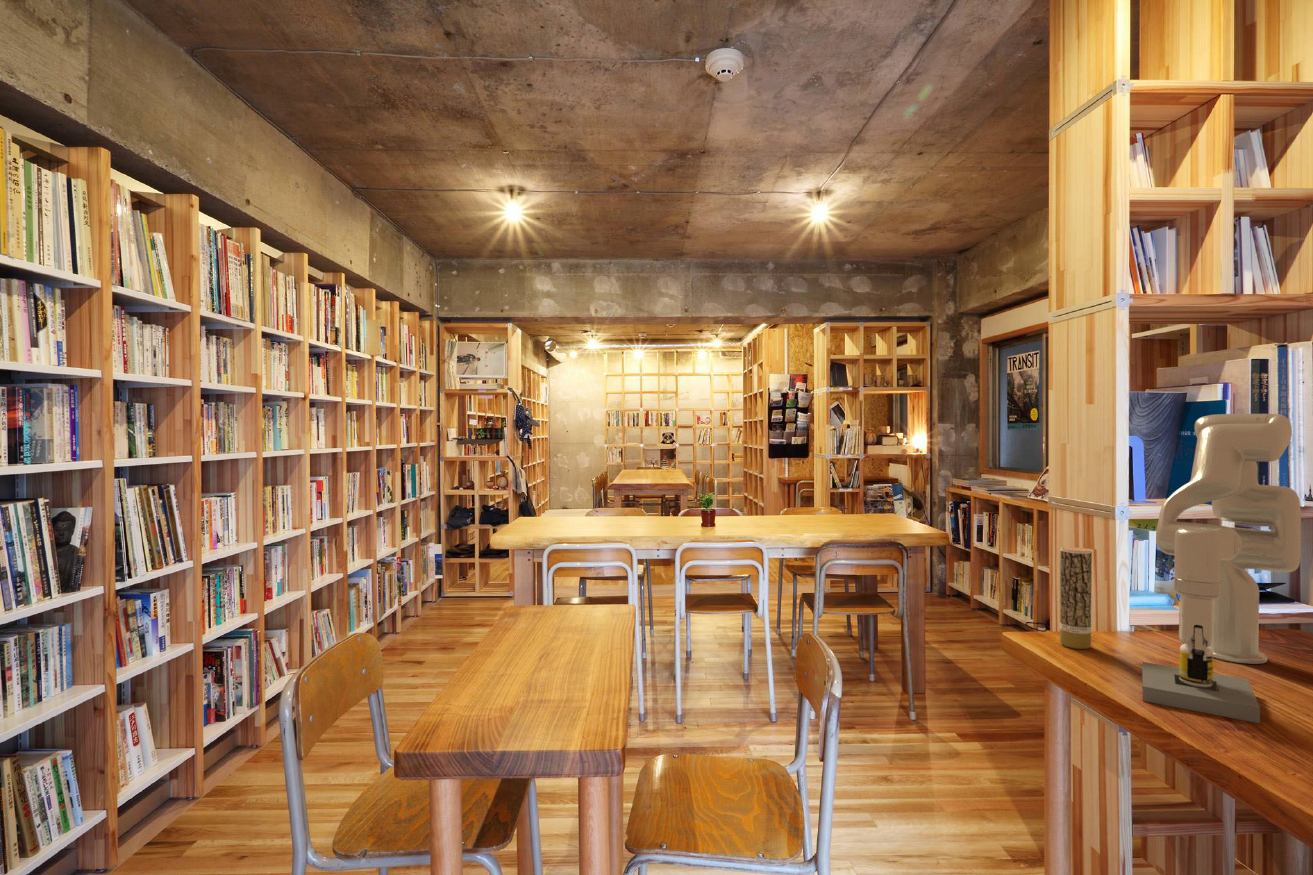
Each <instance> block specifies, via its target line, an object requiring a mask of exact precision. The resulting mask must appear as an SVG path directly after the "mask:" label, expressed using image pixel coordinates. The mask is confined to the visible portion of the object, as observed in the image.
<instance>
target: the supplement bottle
mask: <svg viewBox="0 0 1313 875" xmlns="http://www.w3.org/2000/svg"><path fill="white" fill-rule="evenodd" d="M1191 643H1192V644H1195V641H1192V640H1191ZM1203 645H1204V642H1203ZM1206 647H1207V646H1206ZM1193 648H1194V649H1195V647H1192V650H1193ZM1192 655H1193V653H1192ZM1187 658H1189V642H1188V643H1187V642H1185V644H1183V643H1182V644H1181V645H1180V647H1179V667H1178V668H1179V678H1180V680H1181V681H1182V682H1184V683H1186V684H1189V685H1193V686H1197V687H1210V686H1212V681H1213V674H1214V669H1213V667H1214V657H1213V652H1212V650H1211V649H1210V648H1208V647H1207V648H1206V661H1208V679H1207V681H1204V680H1198V679H1192V678H1188V676H1187Z"/></svg>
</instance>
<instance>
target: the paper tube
mask: <svg viewBox="0 0 1313 875" xmlns="http://www.w3.org/2000/svg"><path fill="white" fill-rule="evenodd" d="M1059 557H1060V562H1059V563H1060V564H1059V565H1060V576H1059V579H1060V580H1059V582H1060V584H1059V585H1060V586H1059V587H1060V589H1059V594H1060V595H1059V596H1060V597H1059V643H1060V644H1061V645H1062V646H1065V647H1067V648H1069V649H1075V650H1087V649H1090V647H1091V645H1092V573H1093V572H1092V566H1093V564H1092V563H1093V562H1092V559H1093V558H1092V557H1093V556H1092V549H1089V548H1084V547H1077V546H1075V547H1074V546H1072V547H1071V546H1064V547H1063V546H1062V547H1060V556H1059Z"/></svg>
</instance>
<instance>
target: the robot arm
mask: <svg viewBox="0 0 1313 875" xmlns="http://www.w3.org/2000/svg"><path fill="white" fill-rule="evenodd" d="M1292 429H1293V428H1292V424H1291V421H1290V419H1289V418H1288V417H1287V416H1285V415H1284V414H1282V413H1281V414H1279V413H1224V414H1223V413H1221V414H1219V413H1218V414H1217V413H1216V414H1209V415H1205V416H1201V417H1199V418H1198V419H1197V420H1195V423H1194V432H1195V436H1196V438H1197V440H1196V444H1195V445H1196V446H1195V452H1194V457H1193V458H1194V459H1193V464H1192V469H1191V474H1190V475H1191V476H1190V480H1189V482H1187V483H1185V484H1183V485H1181V487H1179V488H1178V489H1176V490H1175V491H1173V492H1172V493H1171V495H1169V497H1167V499H1165V501H1164V502H1163V504H1162V506H1161V509H1160V511H1159V516H1158V521H1157V524H1156V525H1157V527H1156V531H1155V534H1156V535H1155V541H1156V542H1155V543H1156V546H1157V549H1159V551H1160V552H1162V553H1164V554H1166V555H1170V556H1174V565H1173V566H1174V568H1173V569H1174V574H1173V575H1174V576H1173V579H1174V580H1173V581H1174V582H1173V588H1174V590H1173V592H1174V594H1177V595H1179V605H1178V607H1179V609H1178V610H1179V612H1178V613H1179V614H1178V618H1179V619H1178V622H1179V623H1178V637H1179V641H1180V642H1181V644H1182V645H1183V644H1186V642H1187V643H1188V642H1189V658H1187V676H1188V678H1192V679H1198V680H1204V681H1207V679H1208V661H1206V648H1207V647H1208V648H1210V649H1211V650H1212V652H1213V659H1214V658H1215V659H1218V660H1222V661H1227V662H1231V663H1237V664H1248V665H1261V664H1265V663H1267V662H1268V656H1267V655H1266V654H1265V653H1263V652H1261V651H1260V650H1259V639H1260V638H1259V636H1260V635H1259V633H1260V632H1259V631H1260V630H1259V629H1260V628H1259V626H1260V625H1259V624H1260V623H1259V622H1260V617H1259V616H1260V588H1259V585H1258V583H1257V581H1256V580H1255V579H1254V578H1253V576H1251V574H1250V573H1249V572H1248V571H1247V570H1246V569H1248V570H1259V571H1268V572H1275V573H1293V572H1295V571H1296V570H1297V569H1298V568H1299V566H1300V564H1301V558H1302V556H1301V555H1302V550H1301V549H1302V539H1301V538H1302V535H1301V534H1302V523H1301V522H1302V520H1301V518H1302V516H1301V514H1302V513H1301V511H1302V510H1301V502H1300V497H1299V494H1298V493H1297V492H1296V491H1295V490H1294V489H1293V488H1290V487H1288V486H1282V485H1268V484H1267V485H1265V484H1259V481H1258V469H1259V468H1258V463H1257V462H1263V463H1264V462H1266V463H1267V462H1269V463H1270V462H1275V461H1277V460H1279V459H1280V458H1281V457H1282V456H1283V454H1284V452H1285V450H1286V449H1287V447H1288V446H1289V445H1290V442H1291V439H1292V435H1293V434H1292V433H1293V430H1292ZM1209 502H1211V508H1212V514H1213V515H1214V517H1215V518H1217V519H1218V520H1221V521H1224V522H1230V523H1239V524H1252V525H1261V526H1262V525H1263V526H1269V527H1272V528H1273V530H1274V531H1273V530H1263V529H1262V530H1261V529H1253V528H1242V527H1231V526H1226V525H1218V524H1217V525H1216V524H1206V523H1197V522H1185V521H1177V520H1178V518H1179V517H1180V515H1181V514H1183V513H1184V512H1186V511H1187V510H1188V509H1191V508H1193V507H1196V506H1199V505H1202V504H1206V503H1209ZM1191 640H1192V641H1195V644H1192V643H1191ZM1203 642H1204V645H1203ZM1206 646H1207V647H1206ZM1192 647H1195V649H1194V648H1193V650H1192ZM1192 653H1193V655H1192Z"/></svg>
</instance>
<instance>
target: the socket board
mask: <svg viewBox="0 0 1313 875" xmlns="http://www.w3.org/2000/svg"><path fill="white" fill-rule="evenodd" d="M1179 668H1180V667H1178V666H1169V665H1163V664H1159V663H1152V662H1147V661H1146V662H1145V661H1142V674H1141V676H1142V679H1141V680H1142V682H1141V683H1142V685H1141V686H1142V689H1141V690H1142V695H1143V696H1142V701H1143V702H1146V701H1147V702H1148V703H1153V704H1157V705H1163V706H1167V707H1173V708H1179V709H1184V710H1189V711H1193V712H1199V713H1202V714H1203V713H1204V714H1209V715H1214V716H1218V717H1219V716H1220V717H1224V718H1231V719H1234V720H1240V721H1246V722H1249V723H1255V724H1261V707H1260V704H1259V702H1258V699H1257V698H1256V694H1255V693H1254V689H1253V688H1252V686H1251V684H1250V681H1249V679H1248V678H1244V677H1243V678H1242V677H1237V676H1230V675H1224V674H1219V673H1213V681H1212V686H1210V687H1197V686H1193V685H1189V684H1186V683H1184V682H1182V681H1181V680H1180V678H1179Z"/></svg>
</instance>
